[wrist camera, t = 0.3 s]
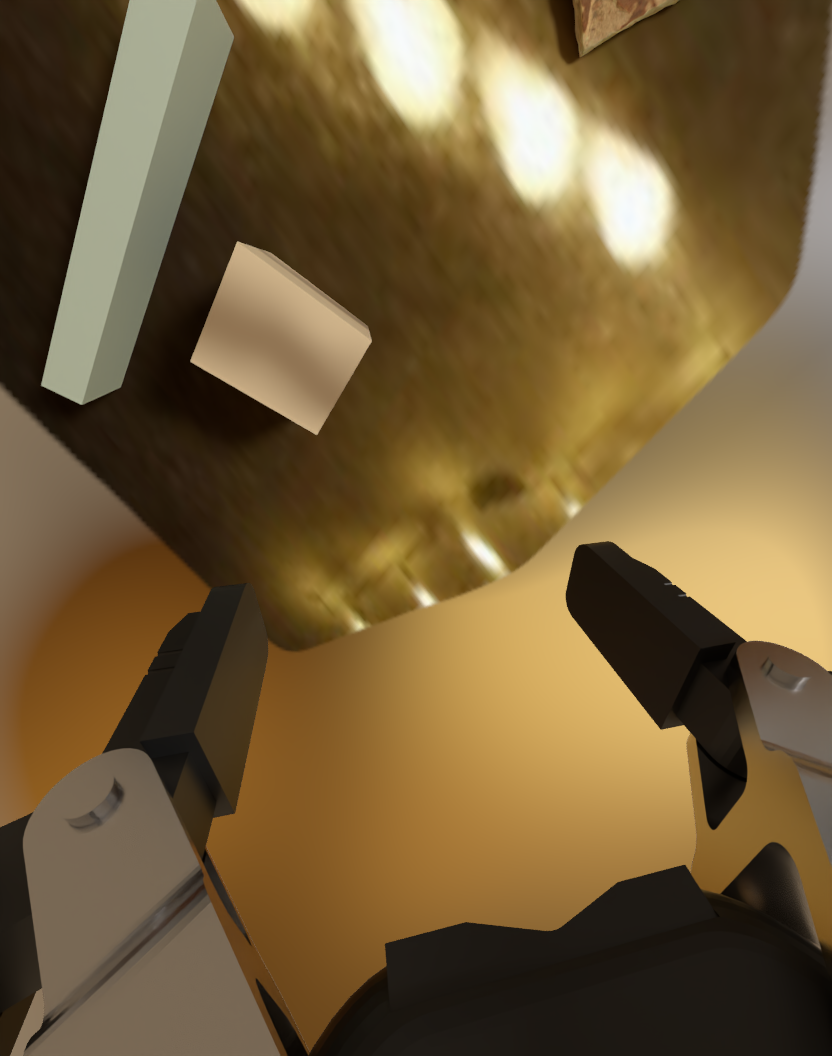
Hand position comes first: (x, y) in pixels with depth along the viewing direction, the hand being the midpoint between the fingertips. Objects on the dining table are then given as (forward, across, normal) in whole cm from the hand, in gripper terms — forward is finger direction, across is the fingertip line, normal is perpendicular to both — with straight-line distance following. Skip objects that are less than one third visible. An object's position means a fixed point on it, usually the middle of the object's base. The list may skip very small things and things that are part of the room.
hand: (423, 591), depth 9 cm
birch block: (+23, +4, -5) cm, 24 cm away
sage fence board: (+23, +12, -11) cm, 28 cm away
